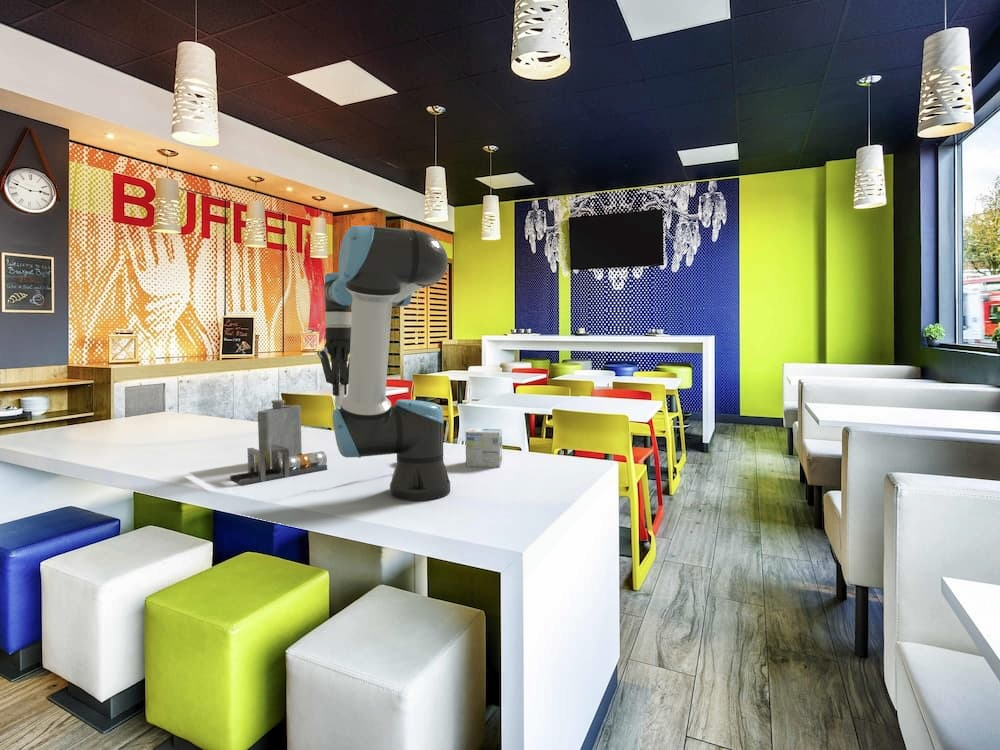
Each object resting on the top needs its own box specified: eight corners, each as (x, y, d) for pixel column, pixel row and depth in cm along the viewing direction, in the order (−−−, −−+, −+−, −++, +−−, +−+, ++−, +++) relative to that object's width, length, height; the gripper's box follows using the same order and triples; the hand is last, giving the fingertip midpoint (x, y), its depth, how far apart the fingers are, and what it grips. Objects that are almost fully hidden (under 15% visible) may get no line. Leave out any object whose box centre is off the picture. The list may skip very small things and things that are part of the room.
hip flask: (265, 473, 160) (263, 403, 158) (254, 471, 161) (252, 402, 160) (304, 461, 175) (302, 397, 173) (293, 460, 176) (292, 396, 175)
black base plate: (314, 467, 166) (313, 460, 166) (328, 472, 160) (328, 465, 160) (229, 483, 149) (229, 475, 149) (241, 489, 143) (241, 481, 143)
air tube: (320, 466, 166) (318, 450, 166) (327, 465, 163) (325, 449, 163) (277, 474, 156) (275, 457, 157) (283, 473, 153) (281, 456, 154)
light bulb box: (502, 462, 174) (502, 428, 174) (500, 467, 168) (500, 432, 167) (468, 461, 175) (468, 427, 175) (465, 466, 169) (465, 431, 168)
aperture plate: (269, 475, 158) (268, 450, 157) (270, 475, 157) (269, 451, 157) (255, 477, 155) (254, 452, 154) (256, 478, 154) (255, 453, 154)
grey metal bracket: (276, 471, 158) (275, 444, 158) (289, 476, 152) (288, 448, 152) (248, 476, 153) (247, 448, 152) (260, 482, 147) (260, 453, 146)
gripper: (351, 326, 172) (352, 403, 174) (311, 326, 163) (313, 407, 165) (364, 327, 167) (366, 405, 169) (324, 326, 158) (326, 409, 159)
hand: (339, 406), depth 167 cm, fingers closed
